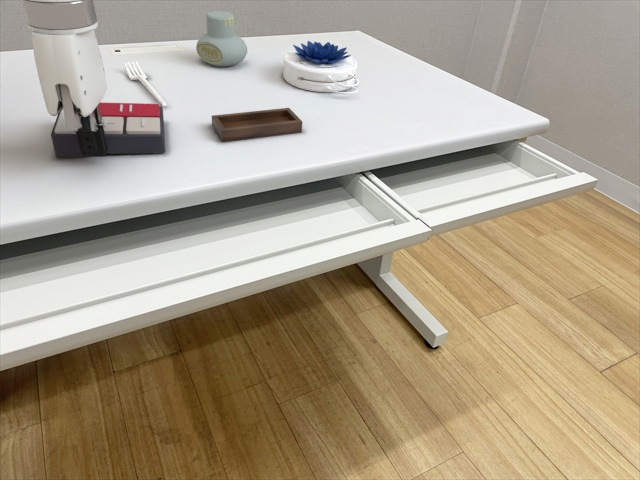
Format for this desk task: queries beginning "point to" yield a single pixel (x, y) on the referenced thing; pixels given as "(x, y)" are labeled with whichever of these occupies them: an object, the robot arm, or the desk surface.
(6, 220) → the desk surface
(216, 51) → the air freshener
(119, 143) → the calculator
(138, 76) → the fork
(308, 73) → the box with blue lotus
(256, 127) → the pen tray
